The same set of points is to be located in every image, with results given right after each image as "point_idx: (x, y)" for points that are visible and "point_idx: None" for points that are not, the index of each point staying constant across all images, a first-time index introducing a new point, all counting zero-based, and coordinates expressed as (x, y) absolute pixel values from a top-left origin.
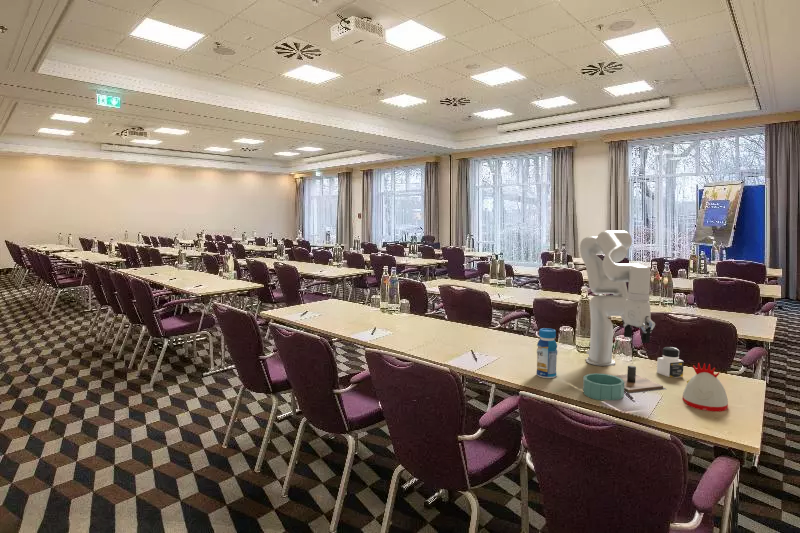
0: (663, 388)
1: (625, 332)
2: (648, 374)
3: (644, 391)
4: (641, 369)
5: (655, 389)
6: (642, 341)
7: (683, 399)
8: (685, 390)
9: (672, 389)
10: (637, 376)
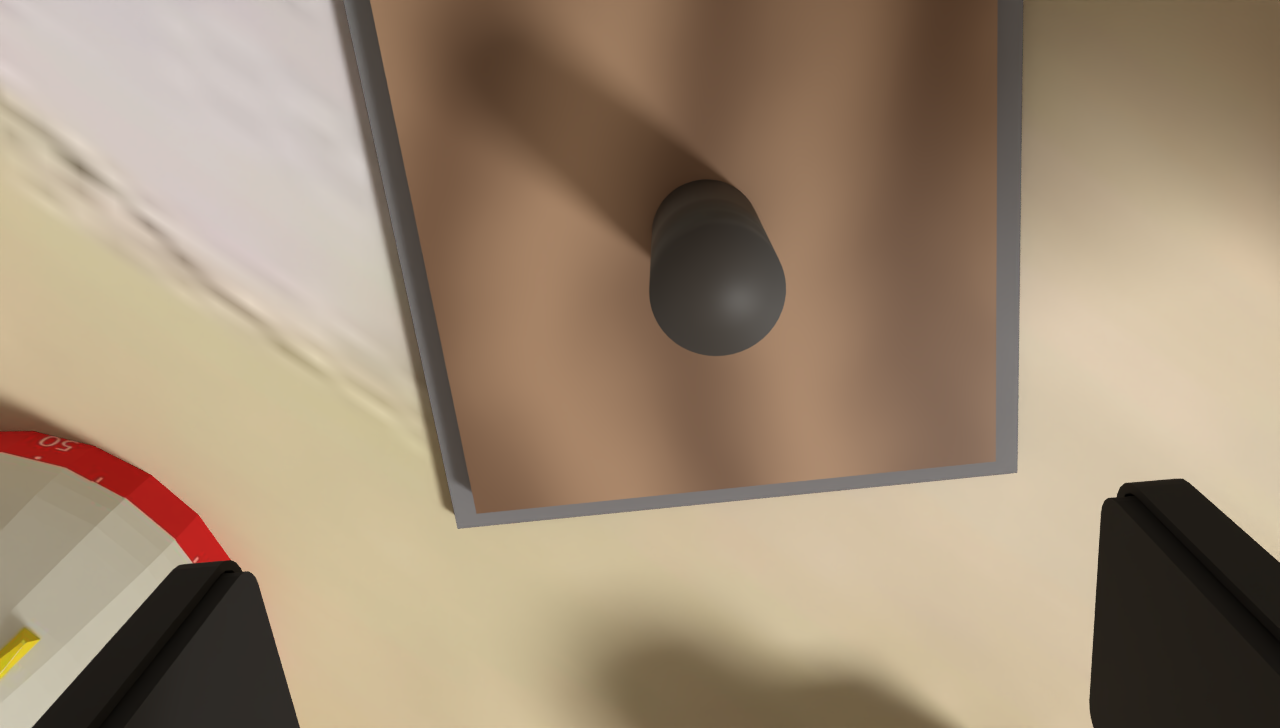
0: None
1: (1220, 594)
2: (1023, 673)
3: (395, 211)
4: None
5: None
6: (176, 584)
7: (71, 459)
8: (7, 530)
9: (493, 596)
10: (875, 442)
